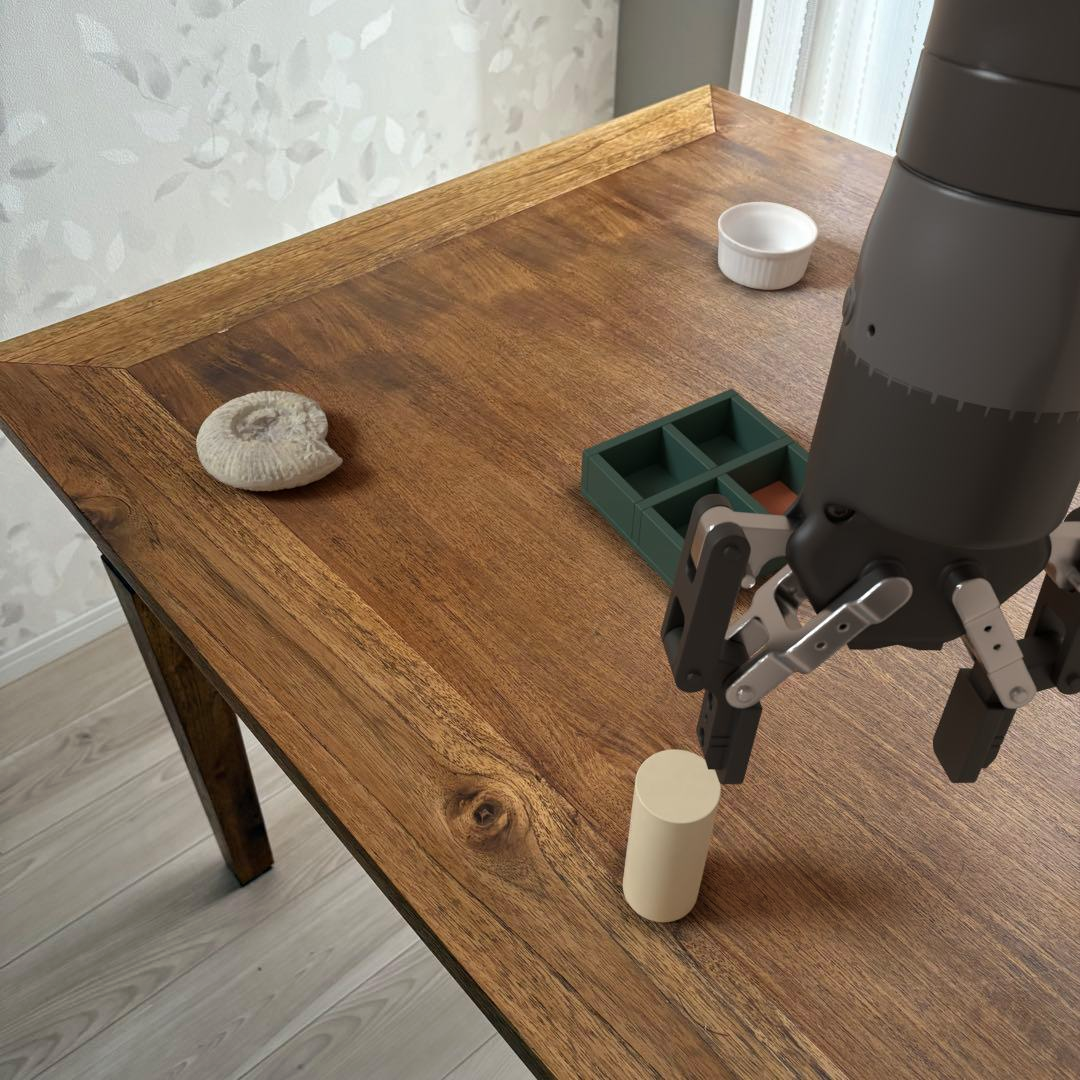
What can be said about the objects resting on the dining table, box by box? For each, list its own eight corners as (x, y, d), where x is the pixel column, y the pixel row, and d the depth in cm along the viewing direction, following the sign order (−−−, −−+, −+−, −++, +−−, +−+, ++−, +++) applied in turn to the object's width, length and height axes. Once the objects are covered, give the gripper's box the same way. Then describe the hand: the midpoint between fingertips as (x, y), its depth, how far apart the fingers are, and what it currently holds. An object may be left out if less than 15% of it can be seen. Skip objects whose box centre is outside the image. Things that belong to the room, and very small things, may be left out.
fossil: (365, 420, 80) (252, 499, 75) (374, 456, 82) (266, 534, 78) (272, 352, 85) (162, 423, 81) (284, 388, 88) (178, 458, 84)
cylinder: (713, 898, 59) (738, 797, 51) (652, 936, 57) (669, 838, 50) (668, 840, 61) (686, 735, 54) (607, 875, 59) (618, 773, 52)
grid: (846, 535, 77) (858, 492, 75) (693, 612, 72) (700, 570, 70) (725, 430, 85) (732, 387, 82) (580, 493, 80) (582, 450, 77)
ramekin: (762, 233, 106) (769, 191, 103) (830, 274, 101) (840, 232, 98) (692, 261, 102) (697, 219, 99) (759, 306, 97) (766, 263, 94)
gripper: (770, 390, 27) (666, 852, 36) (1297, 412, 29) (1077, 845, 37) (700, 282, 33) (626, 697, 42) (1137, 306, 35) (980, 698, 44)
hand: (839, 767), depth 40 cm, fingers open, 8 cm apart
